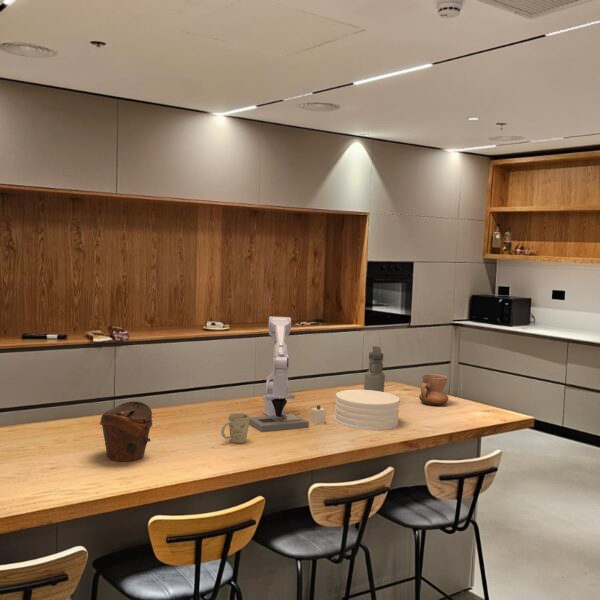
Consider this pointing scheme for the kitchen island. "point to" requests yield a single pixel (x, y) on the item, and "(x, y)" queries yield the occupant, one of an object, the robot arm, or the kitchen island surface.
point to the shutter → (289, 417)
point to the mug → (237, 427)
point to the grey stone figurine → (375, 371)
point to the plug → (318, 415)
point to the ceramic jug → (433, 389)
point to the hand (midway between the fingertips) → (278, 416)
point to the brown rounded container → (126, 430)
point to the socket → (276, 423)
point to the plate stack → (367, 409)
